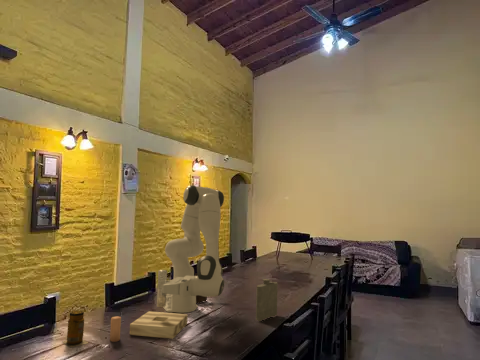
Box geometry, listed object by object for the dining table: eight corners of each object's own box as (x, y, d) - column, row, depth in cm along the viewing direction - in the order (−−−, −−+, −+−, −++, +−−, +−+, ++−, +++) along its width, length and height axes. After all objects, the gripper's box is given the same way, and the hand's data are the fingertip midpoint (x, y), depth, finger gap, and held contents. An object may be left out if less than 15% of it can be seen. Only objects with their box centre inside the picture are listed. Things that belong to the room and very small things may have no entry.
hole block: (148, 320, 175) (148, 311, 175) (187, 323, 172) (187, 314, 172) (129, 334, 155) (130, 324, 156) (173, 338, 152) (173, 327, 152)
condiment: (79, 337, 150) (81, 308, 151) (88, 343, 144) (90, 313, 145) (61, 342, 145) (64, 312, 146) (70, 348, 139) (72, 316, 140)
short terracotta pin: (108, 339, 149) (109, 317, 150) (118, 337, 151) (119, 315, 152) (111, 342, 146) (112, 319, 147) (121, 340, 148) (122, 318, 149)
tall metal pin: (155, 305, 165) (156, 270, 166) (163, 304, 167) (164, 269, 168) (158, 307, 161) (160, 271, 163) (167, 306, 164) (168, 271, 165)
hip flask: (259, 322, 177) (260, 281, 179) (253, 320, 180) (254, 280, 181) (278, 316, 189) (278, 278, 190) (272, 314, 192) (272, 276, 193)
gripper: (195, 274, 174) (168, 273, 176) (182, 282, 153) (151, 281, 156) (194, 287, 173) (167, 286, 175) (181, 297, 153) (151, 295, 155)
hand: (160, 283), depth 165 cm, fingers closed on tall metal pin, 4 cm apart
